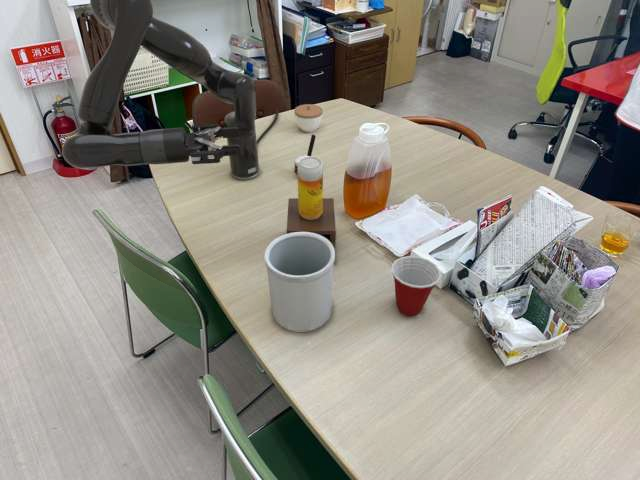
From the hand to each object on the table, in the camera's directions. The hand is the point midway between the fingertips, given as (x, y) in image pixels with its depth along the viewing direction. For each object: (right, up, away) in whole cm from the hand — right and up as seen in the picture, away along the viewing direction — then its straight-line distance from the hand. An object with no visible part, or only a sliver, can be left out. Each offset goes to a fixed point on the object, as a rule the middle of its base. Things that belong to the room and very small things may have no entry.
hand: (239, 140), depth 104 cm
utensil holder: (+14, -39, +4) cm, 41 cm away
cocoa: (+13, 0, +51) cm, 52 cm away
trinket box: (+14, +21, +76) cm, 80 cm away
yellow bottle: (+16, -16, +14) cm, 27 cm away
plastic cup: (+39, -38, +5) cm, 55 cm away
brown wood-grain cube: (+16, -24, +21) cm, 36 cm away
